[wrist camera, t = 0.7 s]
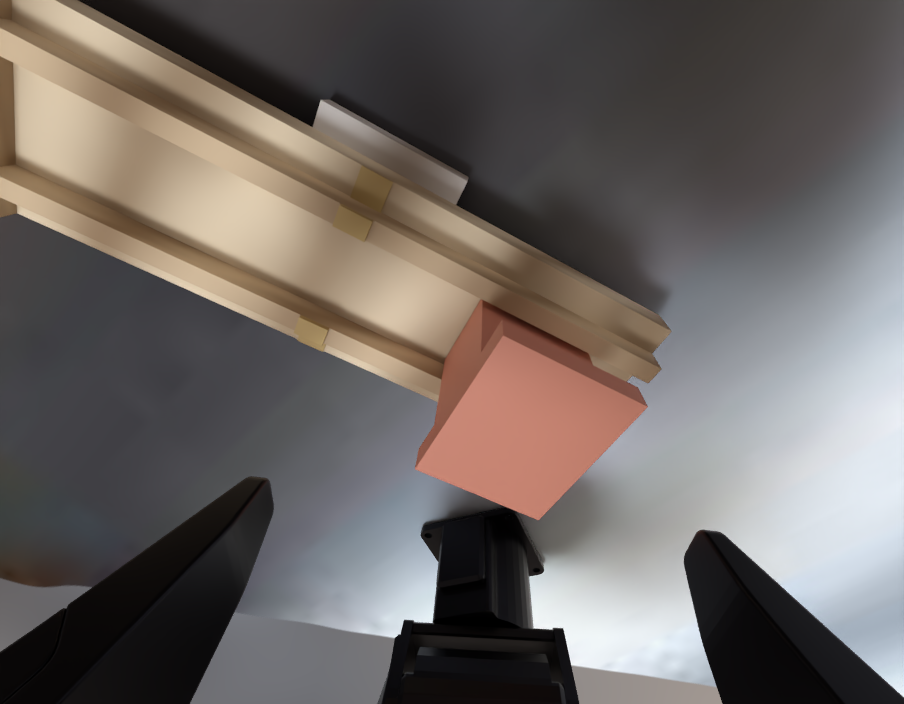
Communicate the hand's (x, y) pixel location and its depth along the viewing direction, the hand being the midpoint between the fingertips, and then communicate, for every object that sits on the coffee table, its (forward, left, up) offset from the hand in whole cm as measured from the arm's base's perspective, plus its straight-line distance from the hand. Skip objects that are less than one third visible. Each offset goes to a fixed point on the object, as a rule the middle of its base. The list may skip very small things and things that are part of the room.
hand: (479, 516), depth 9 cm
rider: (-2, -1, -10) cm, 10 cm away
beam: (+4, +5, -13) cm, 14 cm away
